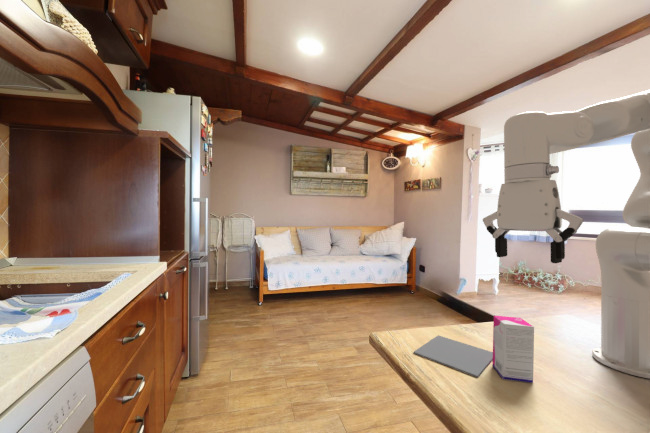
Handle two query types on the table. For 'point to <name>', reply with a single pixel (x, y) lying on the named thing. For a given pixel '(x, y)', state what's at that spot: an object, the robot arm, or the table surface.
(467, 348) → the mat
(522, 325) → the supplement box
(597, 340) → the table surface
